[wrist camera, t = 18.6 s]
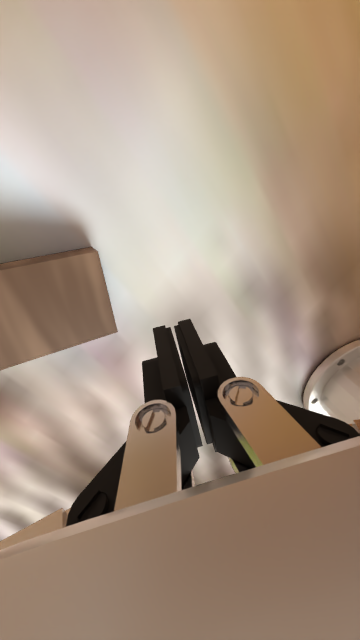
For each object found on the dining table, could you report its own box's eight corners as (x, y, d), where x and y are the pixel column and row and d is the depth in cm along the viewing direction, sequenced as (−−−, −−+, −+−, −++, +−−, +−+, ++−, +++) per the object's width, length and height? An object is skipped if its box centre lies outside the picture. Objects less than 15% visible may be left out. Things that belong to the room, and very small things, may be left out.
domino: (97, 251, 16) (-108, 291, 12) (117, 331, 19) (-45, 384, 15) (91, 246, 18) (-93, 281, 14) (110, 321, 20) (-38, 367, 17)
